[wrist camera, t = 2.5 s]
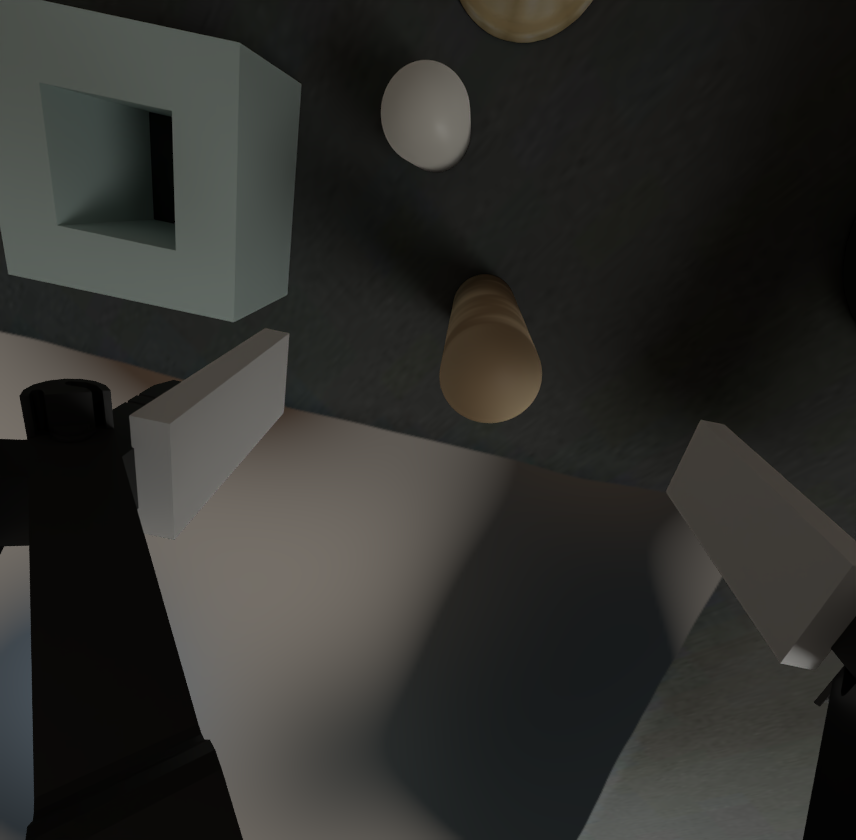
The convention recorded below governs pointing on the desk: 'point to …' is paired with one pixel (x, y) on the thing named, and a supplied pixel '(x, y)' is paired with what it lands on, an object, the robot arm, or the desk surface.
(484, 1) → the hand bell
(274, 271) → the hole block
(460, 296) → the long pin
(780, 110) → the desk surface
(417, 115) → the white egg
